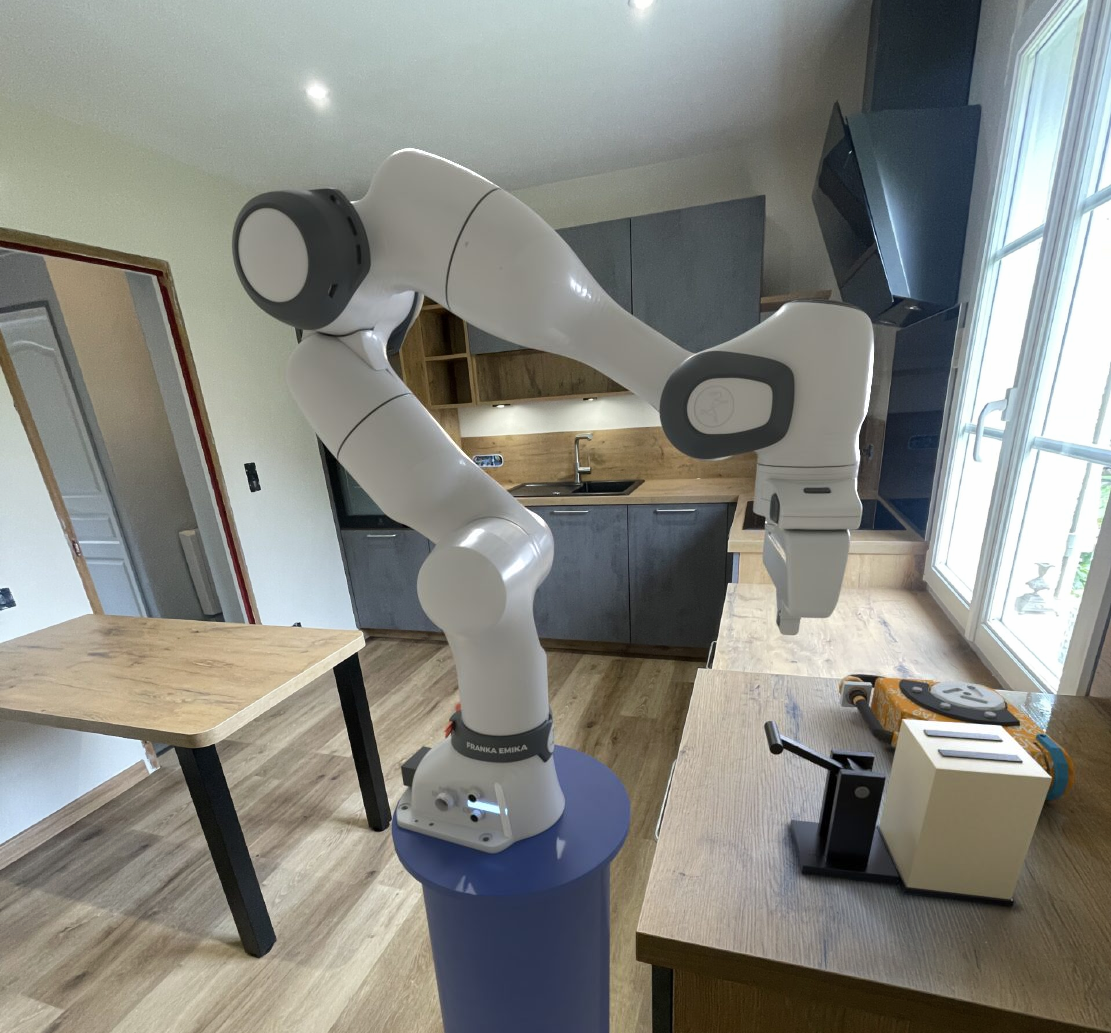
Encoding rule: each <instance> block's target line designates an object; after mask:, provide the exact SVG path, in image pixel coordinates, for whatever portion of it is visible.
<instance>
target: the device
mask: <svg viewBox="0 0 1111 1033" xmlns="http://www.w3.org/2000/svg"><path fill="white" fill-rule="evenodd" d="M872 691H873V692H872ZM838 693H839V694H840V696H839V702H838V703H839V705H840V707H842V708H856V709H857V710H858V712H859V714H860V716H861V717H862V719H863V721H864V722H865V724H866V726H867V728H868V729H869V731H870V733H871V735H872V736H873V738H875V739H877V741H879V742H880V743H883V744H885V745H889V746H890V747H891V748H894V749H895V750H896V746H897V741H898V737H899V732H900V727H901V723H902V719H908V720H923V721H938V722H952V723H967V724H982V725H997V726H1001V727H1002V728H1003V729H1004V730H1005V731H1006V732H1007V733H1008V734H1009V735H1010V736H1011V737H1012V738H1013V739H1014V740H1015V741H1016V742H1017V743H1018V744H1019V745H1020V746H1021V747H1022V748H1023V749H1024V750H1025V751H1026V752H1027V753H1028V754H1029V755H1030V756H1031V757H1032V758H1033V759H1034V760H1035V761H1036V762H1037V763H1038V764H1039V765H1040V766H1041V767H1042V768H1043V769H1044V770H1045V771H1046V772H1047V773H1048V774H1049V775H1050V776H1051V777H1052V780H1051V783H1050V786H1049V789H1048V792H1047V795H1046V798H1045V801H1046V800H1047V801H1053V800H1059V799H1060V798H1061V797H1062V796H1064V795H1067V794H1068V793H1069V792H1070V790H1071V788H1072V786H1073V785H1074V783H1075V781H1076V776H1075V769H1074V768H1075V767H1074V761H1073V759H1071V757H1070V755H1069V754H1068V752H1067V751H1066V749H1064V748H1063V747H1062V746H1061V745H1060V744H1059V743H1058V742H1056V741H1055V740H1054V739H1053V738H1052V737H1051V736H1050V735H1048V734H1047V733H1046V731H1044V730H1043V729H1041V727H1039V726H1038V724H1036V723H1035V722H1034V721H1033V719H1031V718H1030V717H1029V716H1028V715H1027V714H1026V713H1025V712H1024V711H1021V710H1019V709H1018V708H1017V707H1015V706H1014V705H1013V704H1012V702H1010V701H1009V700H1008V699H1007V698H1005V697H1004V696H1003V695H1001V693H999V692H998V691H997V690H996V689H994V688H992V687H989V686H986V685H984V684H980V683H969V682H964V681H957V680H950V681H949V680H948V681H934V679H917V678H898V677H896V678H895V677H885V676H881V675H875V674H866V673H855V674H854V673H852V674H847V675H846V676H844V677H843V678H841V679H840V680H839V683H838ZM871 697H872V698H871ZM870 702H871V703H870Z"/></svg>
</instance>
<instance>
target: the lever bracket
mask: <svg viewBox="0 0 1111 1033" xmlns="http://www.w3.org/2000/svg"><path fill="white" fill-rule="evenodd" d="M829 758H831V759H833V760H835V761H837V762H839V763H841V764H843V763H844V762H845V760H846V759H847V758H848V759H851V760H853V761H855V762H857V763H859V764H861V765H863V766H865V767H867V768H869V769H870V770H871V772H868V771H857V770H845V769H839V774H838V779H837V777H836V774H835V773H833V772H831V771H829V770H827V773H826V778H825V784H824V789H823V796H822V801H821V806H820V814H819V818H818V819H819V820H818V822H817V821H806V820H798V819H797V820H796V819H791V820H790V827H789V828H790V832H791V836H792V841H793V845H794V848H795V853H796V856H797V860H798V865H799V868H800V873H801V874H803V875H811V876H820V877H828V878H835V879H837V878H838V879H844V880H852V881H861V882H870V883H878V884H887V885H895V886H898V883H899V875H898V873H897V871H896V868H895V866H894V864H893V862H892V860H891V857H890V855H889V853H888V851H887V849H886V846H885V844H884V842H883V840H882V838H881V835H880V833H879V831H878V829H876V828H877V822H878V818H879V813H880V809H881V808H880V807H881V803H882V798H883V793H884V788H885V784H886V779H887V777H886V776H885V774H884V772H880V771H873V767H874V763H875V759H876V758H875V755H874V753H873V752H871V751H857V750H844V749H833V748H832V749H830V753H829Z"/></svg>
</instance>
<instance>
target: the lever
mask: <svg viewBox="0 0 1111 1033" xmlns="http://www.w3.org/2000/svg"><path fill="white" fill-rule="evenodd" d="M763 728H764V733H765V737H766V741H767V744H768V745H767V746H768V750H769V752H770V753H771V754H773V755H775V756H779V755H781V754H782V753H783V752H784V750H785V751H788V752H790V753H791V754H793V755H795V756H798V757H800V758H802V759H804V760H806V761H808V762H810V763H813V764H814V765H816V766H819V767H820V768H823V769H825V770H827V771H828V770H829V771H831V772H833V773H835V774H836V777H837V779H838V774H839V769H845V770H857V771H868V772H871V770H870V769H869V768H867V767H865V766H863V765H861V764H859V763H857V762H855V761H853V760H851V759H848V758H847V759H846V760H845V762H844V763H843V764H841V763H839V762H837V761H835V760H833V759H831V758H830V756H826V755H824V754H822V753H820V752H818V751H817V750H814V749H812V748H810V747H808V746H806V745H803V744H802V743H799V742H797V741H795V740H794V739H792V738H790V737H787V736H785V735H783V734H780V732H779V728H778V724H777V723H776V721H773V720H768V721H766V722H765V723H764V725H763Z"/></svg>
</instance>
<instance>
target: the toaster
mask: <svg viewBox="0 0 1111 1033" xmlns="http://www.w3.org/2000/svg"><path fill="white" fill-rule="evenodd" d="M1051 780H1052V777H1051V776H1050V775H1049V774H1048V773H1047V772H1046V771H1045V770H1044V769H1043V768H1042V767H1041V766H1040V765H1039V764H1038V763H1037V762H1036V761H1035V760H1034V759H1033V758H1032V757H1031V756H1030V755H1029V754H1028V753H1027V752H1026V751H1025V750H1024V749H1023V748H1022V747H1021V746H1020V745H1019V744H1018V743H1017V742H1016V741H1015V740H1014V739H1013V738H1012V737H1011V736H1010V735H1009V734H1008V733H1007V732H1006V731H1005V730H1004V729H1003V728H1002V727H1001V726H997V725H982V724H967V723H952V722H938V721H923V720H908V719H902V723H901V727H900V732H899V737H898V741H897V746H896V749H895V751H894V755H893V759H892V764H891V770H890V774H889V779H888V783H887V788H886V793H885V798H884V802H883V807H882V812H881V815H880V821H879V824H876V827H875V829H878V831H879V833H880V835H881V838H882V840H883V842H884V844H885V846H886V849H887V851H888V853H889V855H890V857H891V860H892V862H893V864H894V866H895V868H896V871H897V873H898V875H899V880H898V883H899V885H900V887H901V889H902V891H903V893H904V894H906V895H913V896H921V897H930V898H938V899H946V900H947V899H948V900H953V901H954V900H955V901H962V902H970V903H978V904H986V905H995V906H1003V907H1013V906H1014V903H1015V900H1014V899H1013V896H1014V893H1015V891H1016V890H1015V889H1016V887H1017V884H1018V882H1019V879H1020V875H1021V872H1022V869H1023V866H1024V863H1025V860H1026V857H1027V854H1028V851H1029V848H1030V845H1031V843H1032V839H1033V837H1034V833H1035V830H1036V827H1037V824H1038V822H1039V818H1040V816H1041V813H1042V809H1043V806H1044V805H1045V801H1046V800H1045V798H1046V795H1047V792H1048V789H1049V786H1050V783H1051Z"/></svg>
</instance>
